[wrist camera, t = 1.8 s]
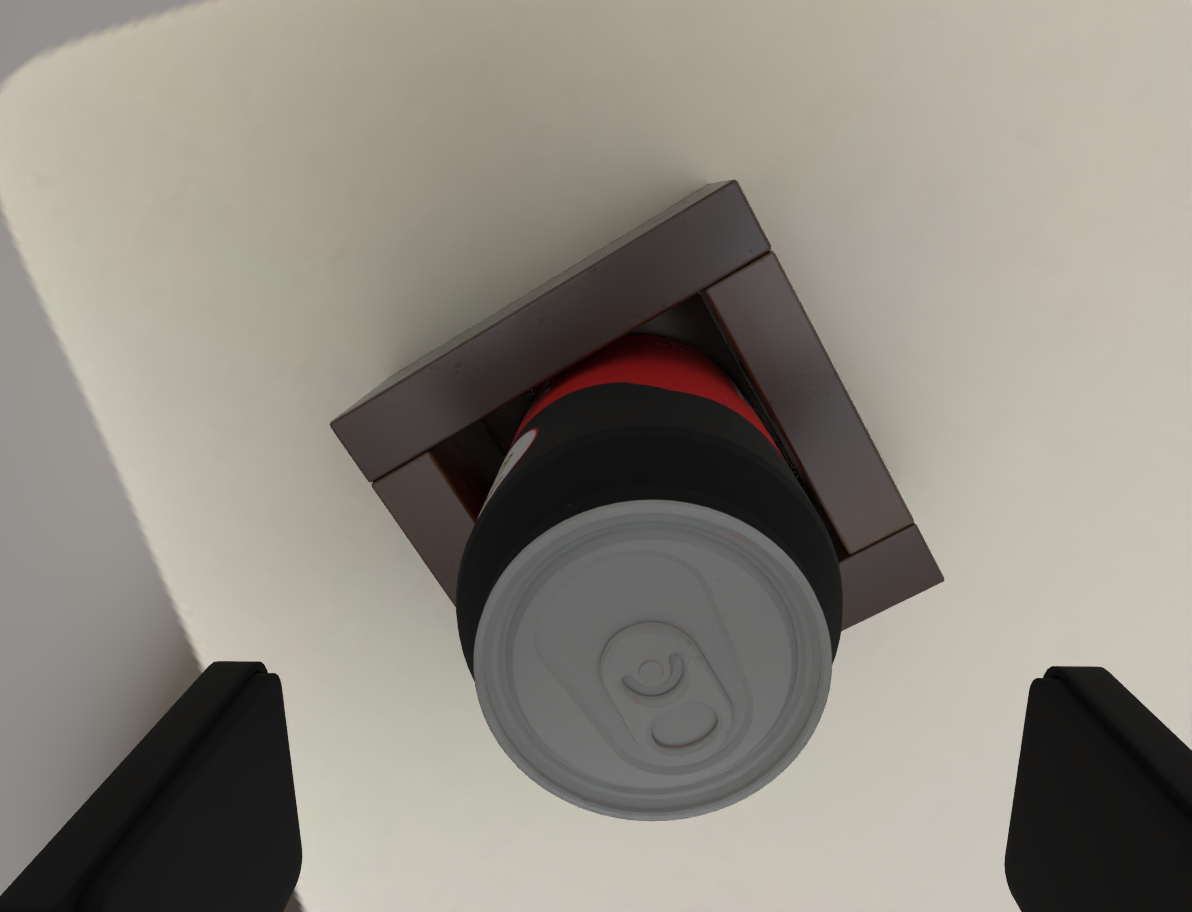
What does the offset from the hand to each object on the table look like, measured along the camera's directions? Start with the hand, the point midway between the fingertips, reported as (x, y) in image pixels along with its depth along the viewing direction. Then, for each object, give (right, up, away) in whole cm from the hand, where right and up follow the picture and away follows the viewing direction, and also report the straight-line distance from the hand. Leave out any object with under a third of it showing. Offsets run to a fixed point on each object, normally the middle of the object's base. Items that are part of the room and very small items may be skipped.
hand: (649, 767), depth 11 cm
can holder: (0, +4, +13) cm, 14 cm away
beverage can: (+1, +4, +13) cm, 14 cm away
